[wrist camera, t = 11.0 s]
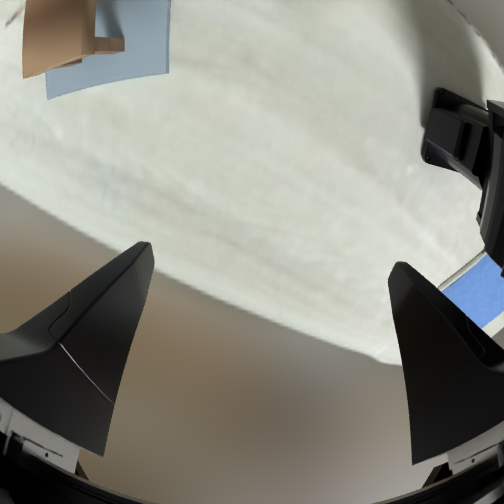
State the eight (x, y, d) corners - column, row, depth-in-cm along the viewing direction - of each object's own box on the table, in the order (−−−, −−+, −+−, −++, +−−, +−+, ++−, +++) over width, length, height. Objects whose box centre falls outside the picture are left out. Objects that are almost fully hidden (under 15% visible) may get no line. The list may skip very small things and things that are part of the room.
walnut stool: (125, 53, 13) (81, 55, 9) (71, 68, 13) (22, 78, 9) (129, -17, 10) (88, -33, 5) (73, 3, 10) (26, -1, 5)
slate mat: (176, -52, 8) (173, -55, 8) (168, 73, 15) (165, 73, 14) (53, -10, 8) (49, -11, 8) (51, 98, 15) (47, 99, 15)
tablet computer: (431, 286, 27) (435, 294, 26) (504, 225, 21) (509, 232, 20) (460, 336, 35) (463, 342, 34) (513, 295, 29) (516, 300, 28)
